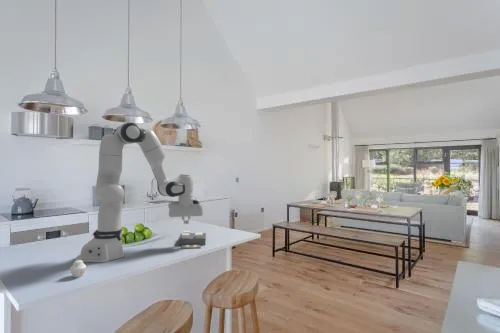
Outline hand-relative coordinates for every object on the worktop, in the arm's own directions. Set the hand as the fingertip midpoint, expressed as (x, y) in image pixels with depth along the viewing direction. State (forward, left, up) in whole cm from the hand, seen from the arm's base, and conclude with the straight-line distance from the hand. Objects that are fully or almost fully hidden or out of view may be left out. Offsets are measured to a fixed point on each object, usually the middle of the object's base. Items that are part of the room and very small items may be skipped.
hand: (186, 223), depth 176 cm
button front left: (0, 0, -9) cm, 9 cm away
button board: (+4, +3, -12) cm, 13 cm away
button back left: (0, +7, -9) cm, 12 cm away
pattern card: (+4, -8, -12) cm, 15 cm away
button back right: (+8, +7, -11) cm, 15 cm away
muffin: (-41, -47, -13) cm, 64 cm away
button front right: (+8, 0, -9) cm, 12 cm away
